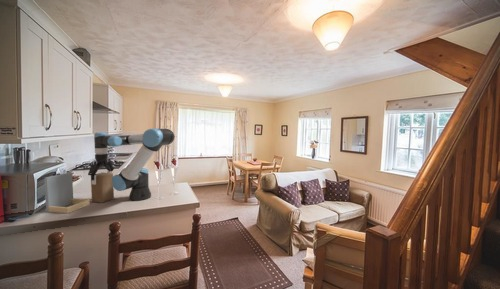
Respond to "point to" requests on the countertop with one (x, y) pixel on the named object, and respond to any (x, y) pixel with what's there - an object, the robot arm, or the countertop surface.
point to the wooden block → (102, 188)
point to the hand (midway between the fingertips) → (102, 181)
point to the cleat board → (61, 194)
